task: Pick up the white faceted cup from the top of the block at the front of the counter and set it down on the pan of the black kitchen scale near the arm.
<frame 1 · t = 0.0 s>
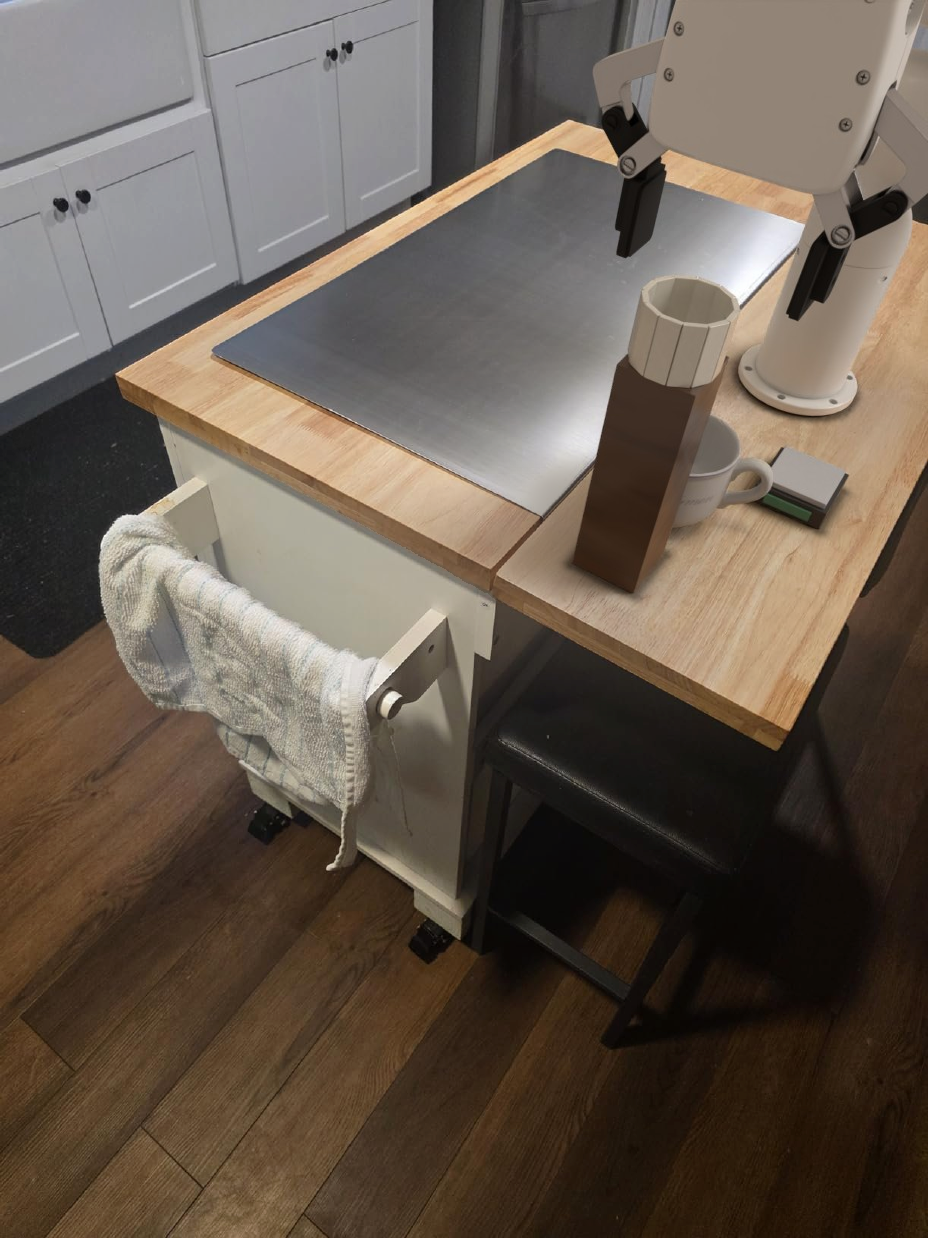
hand: (714, 277, 46), 31 cm above the kitchen island, tool pointing down, fingers open, 9 cm apart
scale: (795, 494, 83), on the kitchen island
teacup: (674, 512, 81), on the kitchen island
white faceted cup: (673, 360, 61), point 20 cm above the kitchen island, touching block
block: (618, 558, 77), on the kitchen island
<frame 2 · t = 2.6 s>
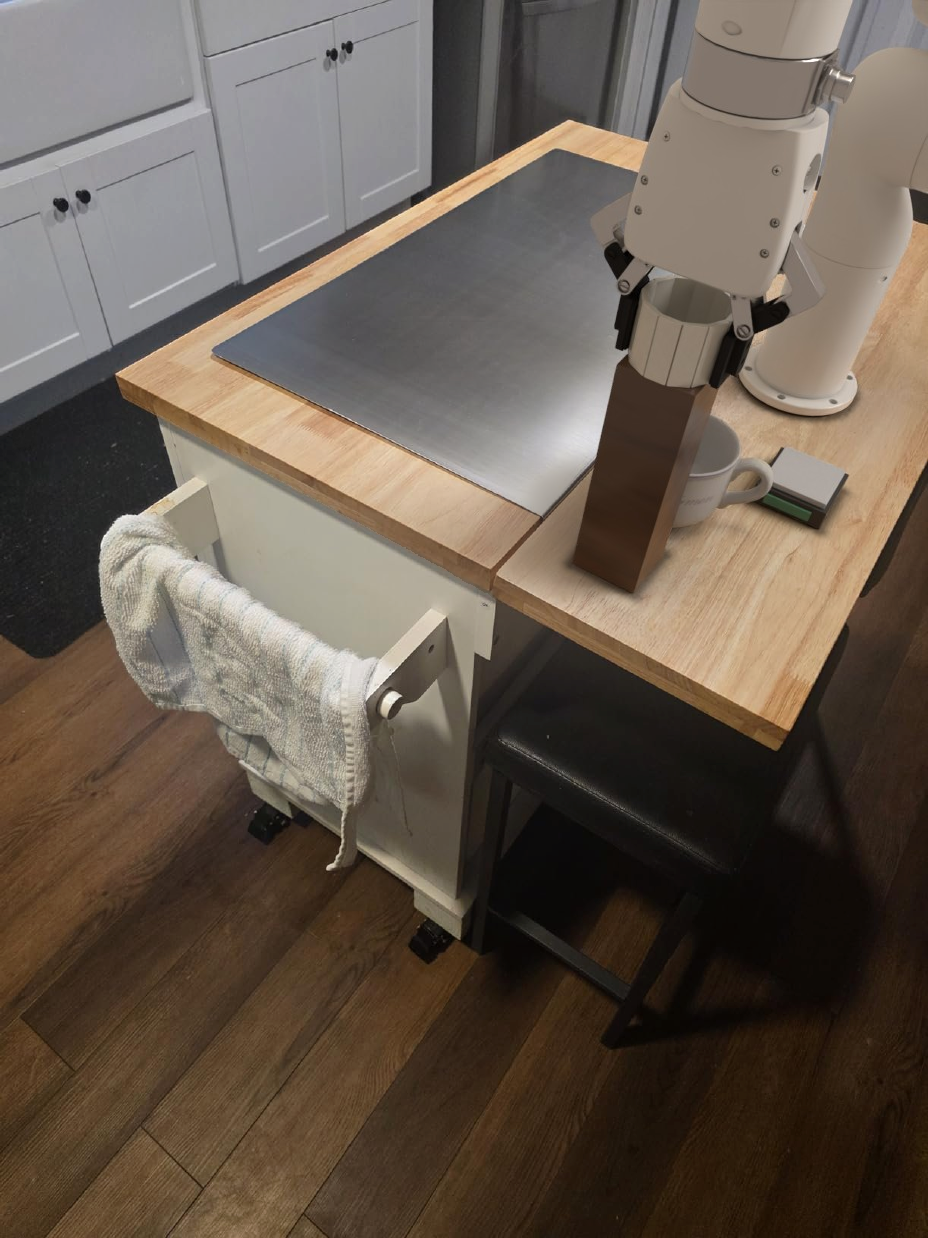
hand: (674, 358, 61), 20 cm above the kitchen island, tool pointing down, fingers closed on white faceted cup, 6 cm apart
white faceted cup: (673, 360, 61), point 20 cm above the kitchen island, touching gripper, block
everything else where it was.
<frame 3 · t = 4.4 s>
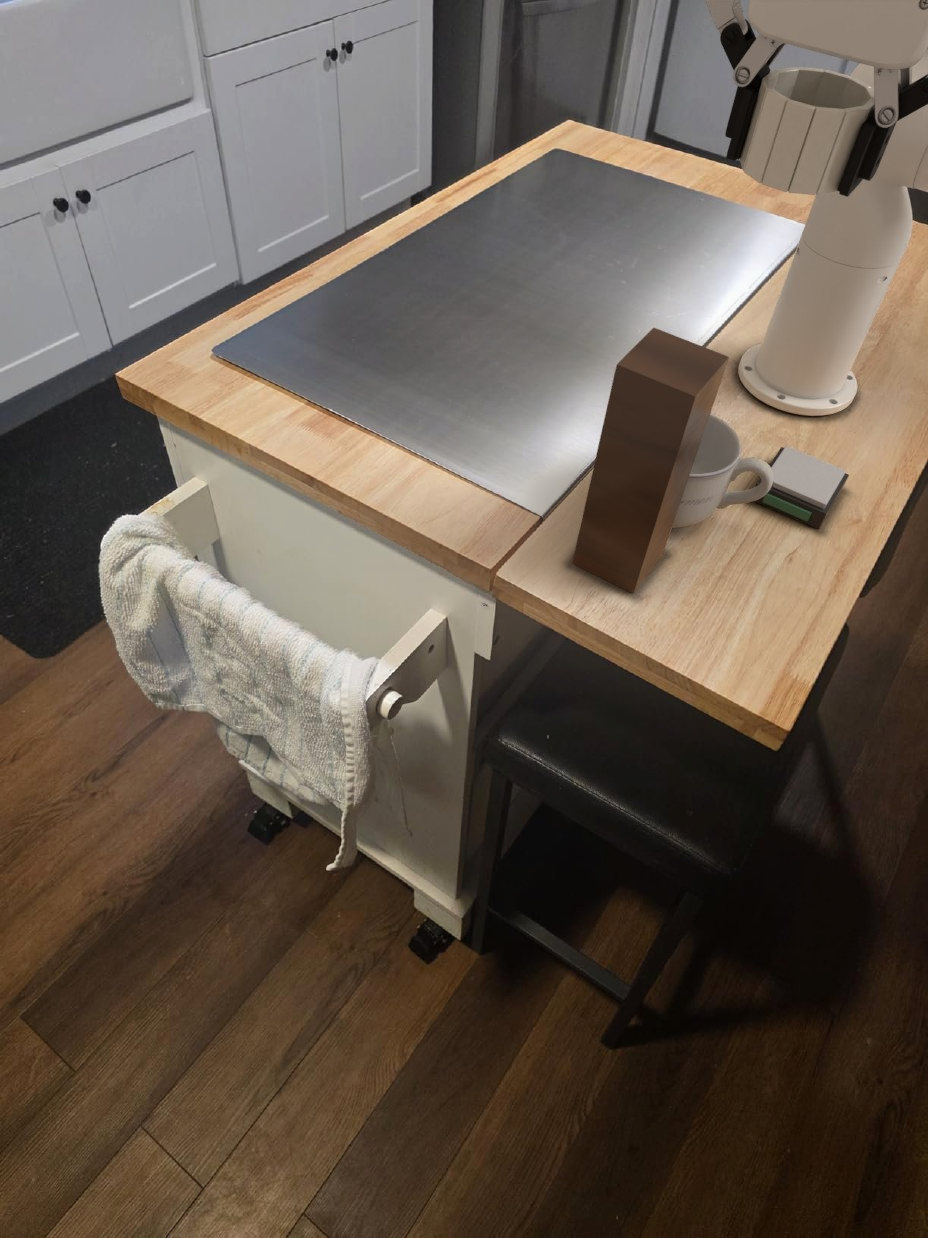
hand: (794, 167, 54), 32 cm above the kitchen island, tool pointing down, fingers closed on white faceted cup, 6 cm apart
white faceted cup: (793, 170, 54), point 32 cm above the kitchen island, touching gripper
everything else where it was.
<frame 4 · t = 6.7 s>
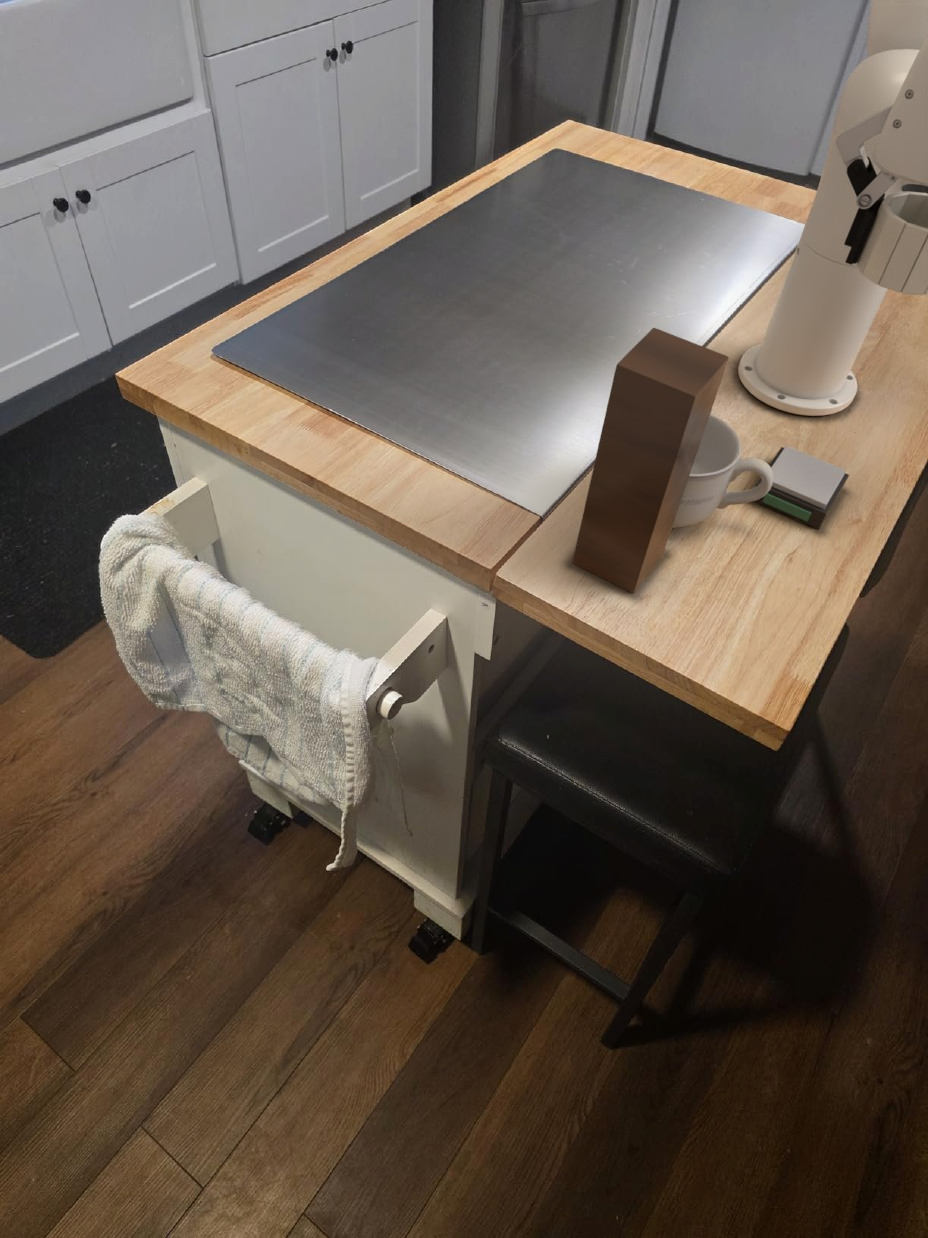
hand: (901, 270, 66), 23 cm above the kitchen island, tool pointing down, fingers closed on white faceted cup, 6 cm apart
white faceted cup: (900, 272, 66), point 23 cm above the kitchen island, touching gripper
everything else where it was.
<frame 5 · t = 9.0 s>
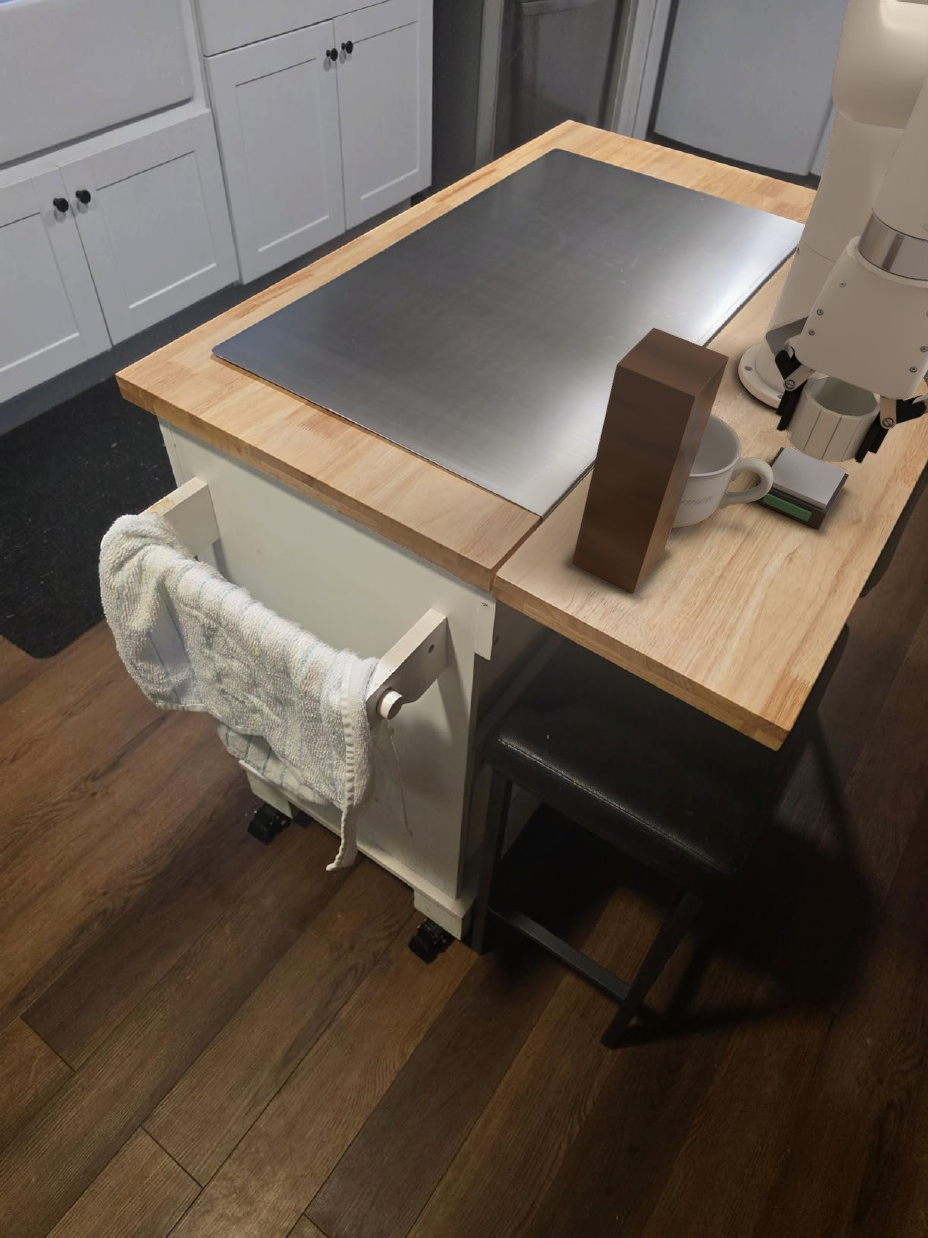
hand: (823, 437, 78), 7 cm above the kitchen island, tool pointing down, fingers closed on white faceted cup, 6 cm apart
white faceted cup: (822, 438, 78), point 7 cm above the kitchen island, touching gripper
everything else where it was.
when the fingers open (3 cm above the kitchen island, at t = 10.9 s): white faceted cup stays where it is, resting on scale.
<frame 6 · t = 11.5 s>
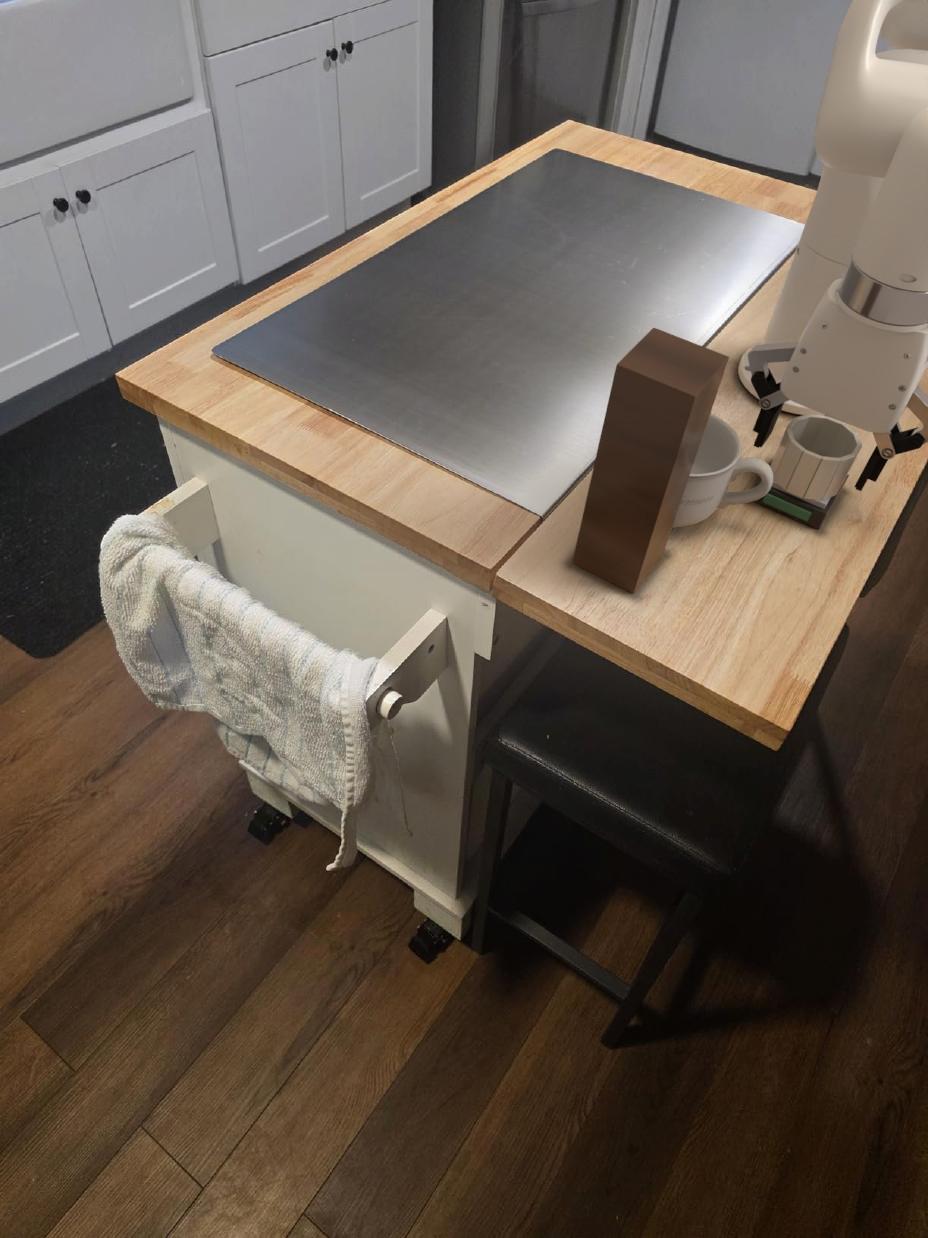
hand: (811, 460, 81), 4 cm above the kitchen island, tool pointing down, fingers open, 9 cm apart
white faceted cup: (805, 476, 81), point 3 cm above the kitchen island, touching scale
everything else where it was.
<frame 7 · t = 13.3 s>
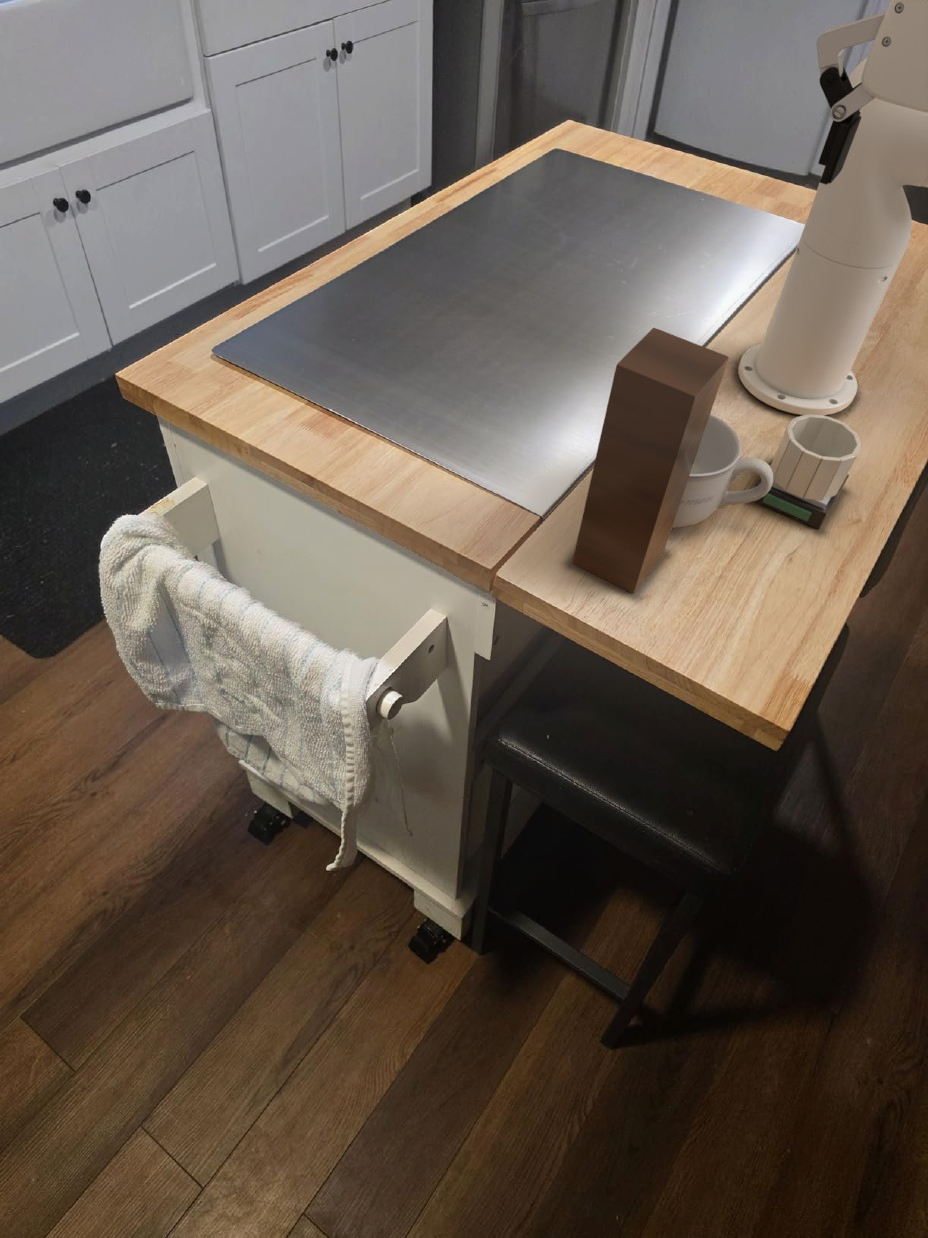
hand: (896, 197, 62), 28 cm above the kitchen island, tool pointing down, fingers open, 9 cm apart
nothing on the kitchen island moved.
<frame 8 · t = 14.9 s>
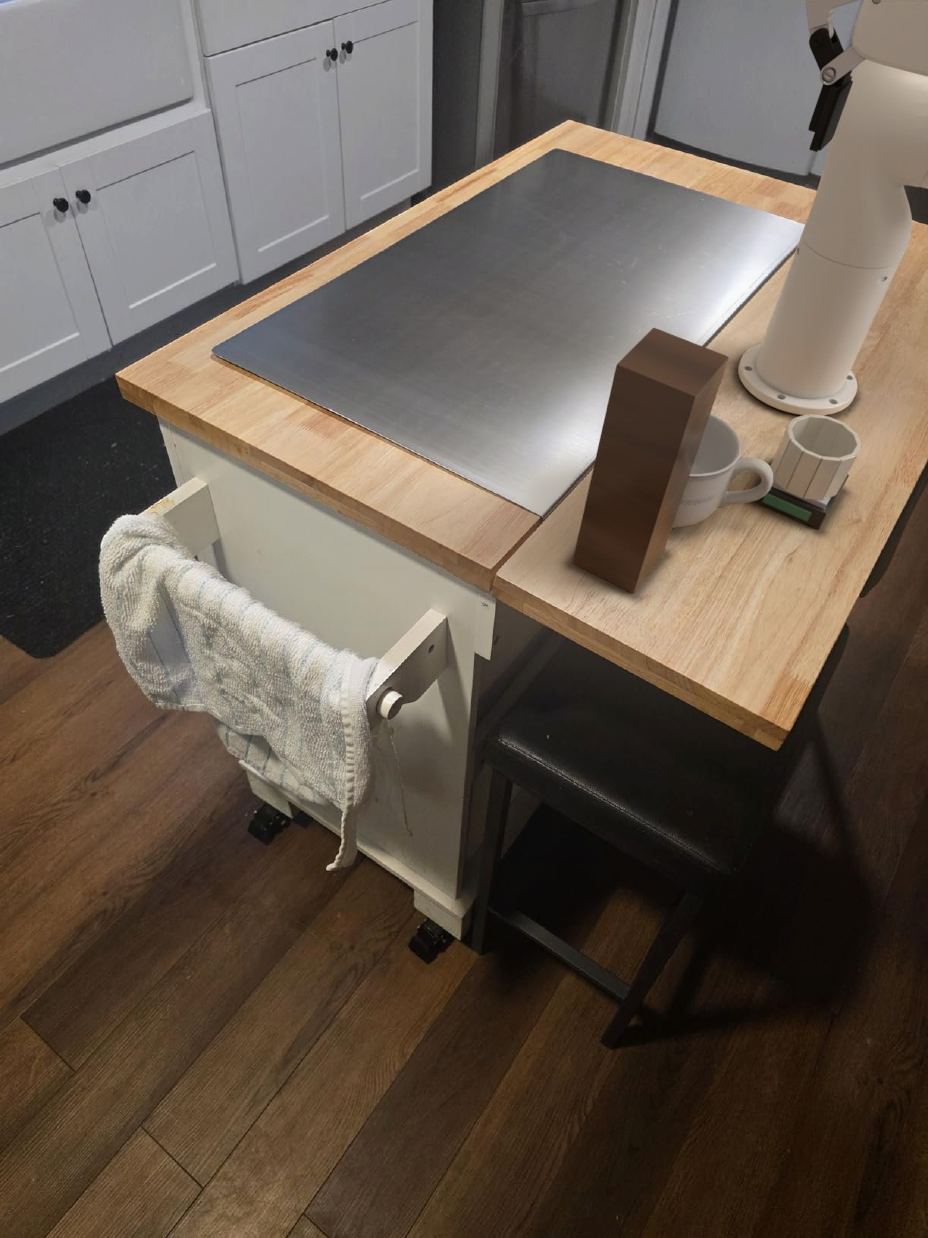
hand: (887, 165, 60), 30 cm above the kitchen island, tool pointing down, fingers open, 9 cm apart
nothing on the kitchen island moved.
at the end: white faceted cup 0.3 cm off-centre on the scale, point 2.6 cm above the scale's base; white faceted cup tilted 0°; the gripper is holding nothing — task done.
